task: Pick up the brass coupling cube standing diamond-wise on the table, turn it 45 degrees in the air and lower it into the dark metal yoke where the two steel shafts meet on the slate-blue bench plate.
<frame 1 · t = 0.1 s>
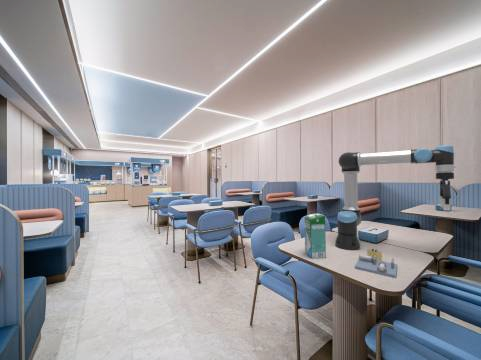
hand: (445, 208, 119), 28 cm above the table, fingers open, 13 cm apart
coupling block: (374, 259, 118), on the table
milk carton: (315, 255, 125), on the table
shaft bench: (376, 267, 107), on the table
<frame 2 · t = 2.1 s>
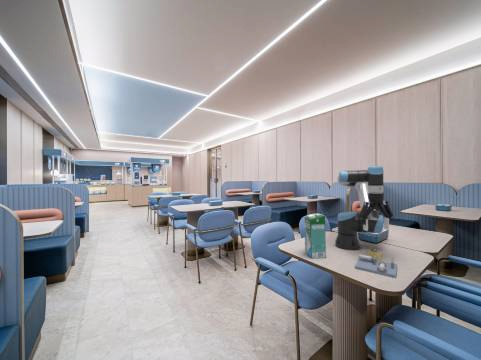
hand: (376, 229, 118), 17 cm above the table, fingers open, 13 cm apart
nothing on the table moved.
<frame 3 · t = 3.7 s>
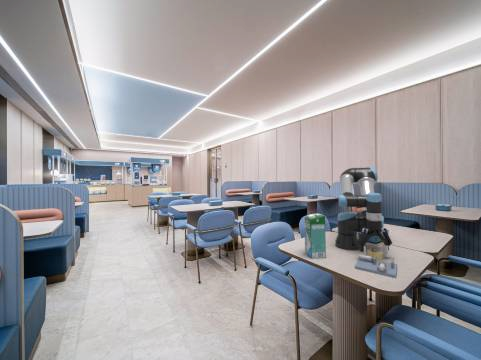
hand: (374, 257, 117), 1 cm above the table, fingers open, 13 cm apart
nothing on the table moved.
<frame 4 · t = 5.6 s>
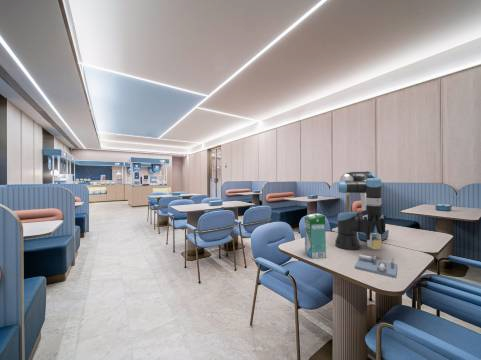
hand: (374, 244, 118), 8 cm above the table, fingers closed on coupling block, 5 cm apart
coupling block: (374, 247, 118), point 6 cm above the table, touching gripper
everything else where it was.
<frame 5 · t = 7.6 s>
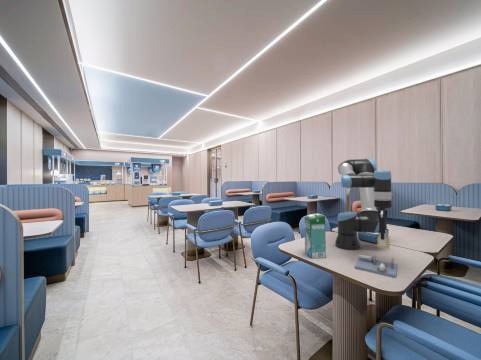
hand: (383, 243, 107), 12 cm above the table, fingers closed on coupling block, 5 cm apart
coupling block: (383, 246, 107), point 11 cm above the table, touching gripper
everything else where it was.
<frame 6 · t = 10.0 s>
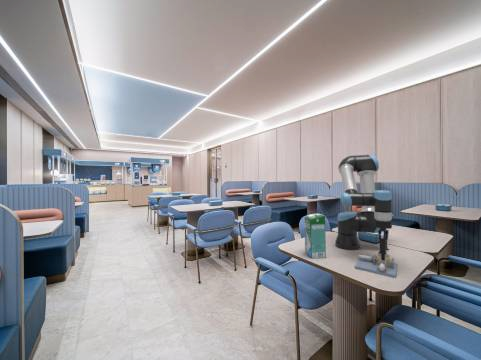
hand: (383, 264, 107), 2 cm above the table, fingers closed on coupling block, 5 cm apart
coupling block: (384, 264, 107), point 1 cm above the table, touching gripper, shaft bench
everything else where it was.
when the fingers open (2 cm above the table, at t = 10.0 s): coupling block stays where it is, resting on shaft bench.
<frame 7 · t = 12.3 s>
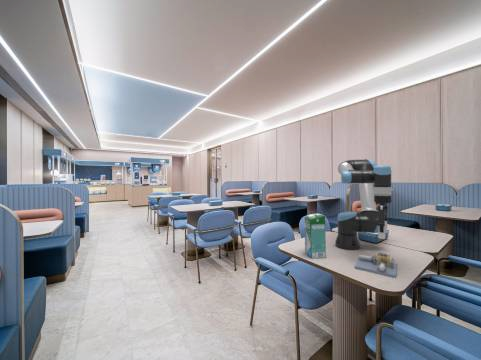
hand: (383, 235, 107), 16 cm above the table, fingers open, 13 cm apart
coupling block: (384, 264, 107), point 1 cm above the table, touching shaft bench
everything else where it was.
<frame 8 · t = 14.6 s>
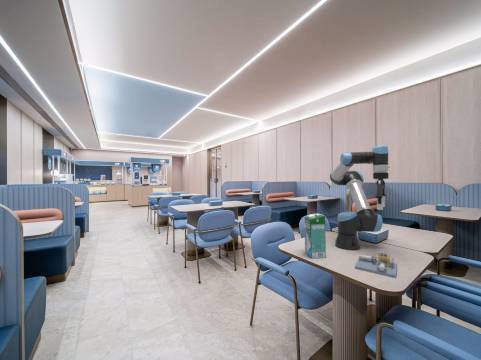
hand: (381, 208, 121), 29 cm above the table, fingers open, 13 cm apart
nothing on the table moved.
at the end: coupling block 0.4 cm from the target spot on the shaft bench, point 1.2 cm above the shaft bench's base; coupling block tilted 0° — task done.
